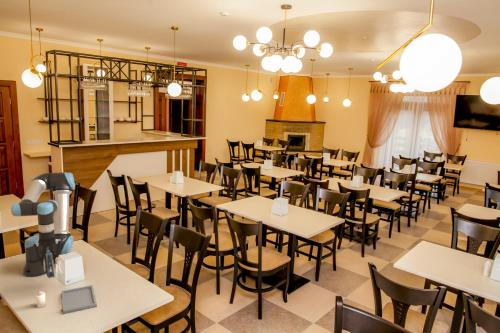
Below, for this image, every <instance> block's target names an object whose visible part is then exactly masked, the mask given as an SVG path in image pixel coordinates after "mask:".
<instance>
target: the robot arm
mask: <svg viewBox="0 0 500 333" xmlns="http://www.w3.org/2000/svg"><path fill="white" fill-rule="evenodd" d="M28 186H29V187H28V189H27V191H26V192H25V194H24V195H23V197H22V199H21V200H20V202H14V203H12V204H11V209H10V210H11V215H12V217H29V216H30V217H32V216H33V217H35V216H37V224H38V226H37V228H38V234H35V235H33V236H30V237H28V238H26V240H25V241H24V251H25V252H24V253H25V262H24V263H25V264H24V268H23V273H22V274H23V275H24V277H27V278H28V277H30V278H33V277H41V276H44V275H47V273H46V272H45V271H46V267H45V265H46V264H45V256H44V253H46V247H49V250H50V252H51V253H52V260H53V265H55V264H56V262H57V261H56V259H57V258H59V257H60V256H61V255H63V256H64V255H68V254H67V253H69V254H70V253H71V251H72V250H73V244H74V235H71V234H72V233H71V232H70V231H69V223H70V222H69V216H70V195H71V194H72V193H73V191H74V190H75V189H76V184H75V177H74V175H73V173H72V172H45V173H42V174H39V175H37V176H35V177H34V178H33V179H31V181H30V182H29V184H28ZM45 191H52V194H53V195H54V199H49V200H46V201H38V200H39V198H40V197H41V195H42V194H43V193H44V192H45ZM54 267H55V266H53V268H54Z"/></svg>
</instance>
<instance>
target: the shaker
mask: <svg viewBox="0 0 500 333" xmlns="http://www.w3.org/2000/svg"><path fill="white" fill-rule="evenodd" d="M35 295H36V307H37V309H43V308H45V307H46V292H44V291H43V290H39V291H38V292H37V293H36V294H35Z"/></svg>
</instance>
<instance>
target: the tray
mask: <svg viewBox="0 0 500 333" xmlns="http://www.w3.org/2000/svg"><path fill="white" fill-rule="evenodd" d="M61 299H62V313H63V315H67V314H71V313H76V312H80V311H85V310H89V309H94V308H97V307H98V306H97V298H96V294H95V291H94V286H93V284H92V285H86V286H81V287H76V288H71V289H65V290H62V291H61Z"/></svg>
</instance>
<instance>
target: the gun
mask: <svg viewBox="0 0 500 333" xmlns="http://www.w3.org/2000/svg"><path fill="white" fill-rule="evenodd" d="M44 256H45V264H46V265H45V267H46V271H45V272H46V276H47V278H48V279H51V278H55V269H54V268H53V267H54V264H53V260H52V253H51V252H50V250H49V247H46V253H44Z"/></svg>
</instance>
